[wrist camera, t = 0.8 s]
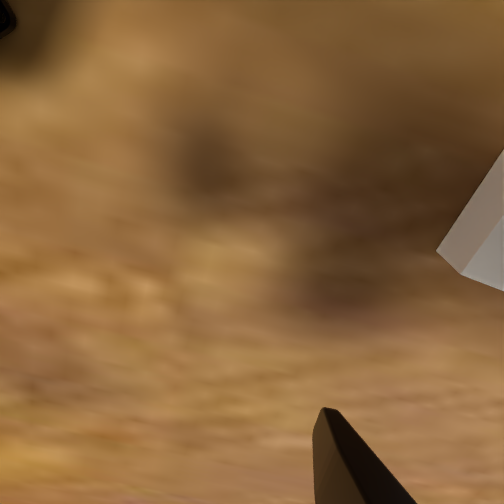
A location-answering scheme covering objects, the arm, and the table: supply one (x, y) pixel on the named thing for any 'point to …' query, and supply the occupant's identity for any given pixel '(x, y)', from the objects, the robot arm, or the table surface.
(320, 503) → the robot arm
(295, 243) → the table surface
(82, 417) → the table surface
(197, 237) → the table surface
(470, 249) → the switch box
